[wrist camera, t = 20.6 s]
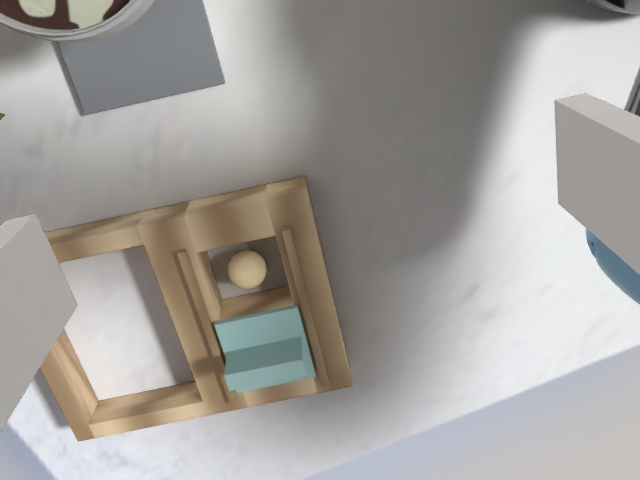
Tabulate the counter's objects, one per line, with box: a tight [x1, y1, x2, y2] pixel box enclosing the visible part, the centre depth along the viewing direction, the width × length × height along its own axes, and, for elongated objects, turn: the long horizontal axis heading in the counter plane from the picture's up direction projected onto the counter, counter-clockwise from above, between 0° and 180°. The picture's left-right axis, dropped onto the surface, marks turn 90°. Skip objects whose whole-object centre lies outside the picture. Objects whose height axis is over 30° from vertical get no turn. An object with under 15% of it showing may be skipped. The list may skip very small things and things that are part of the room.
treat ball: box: [228, 250, 267, 289], centre depth 46 cm, size 3×3×3 cm
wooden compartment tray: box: [40, 176, 352, 441], centre depth 47 cm, size 24×18×4 cm
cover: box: [215, 304, 316, 393], centre depth 46 cm, size 7×7×4 cm
